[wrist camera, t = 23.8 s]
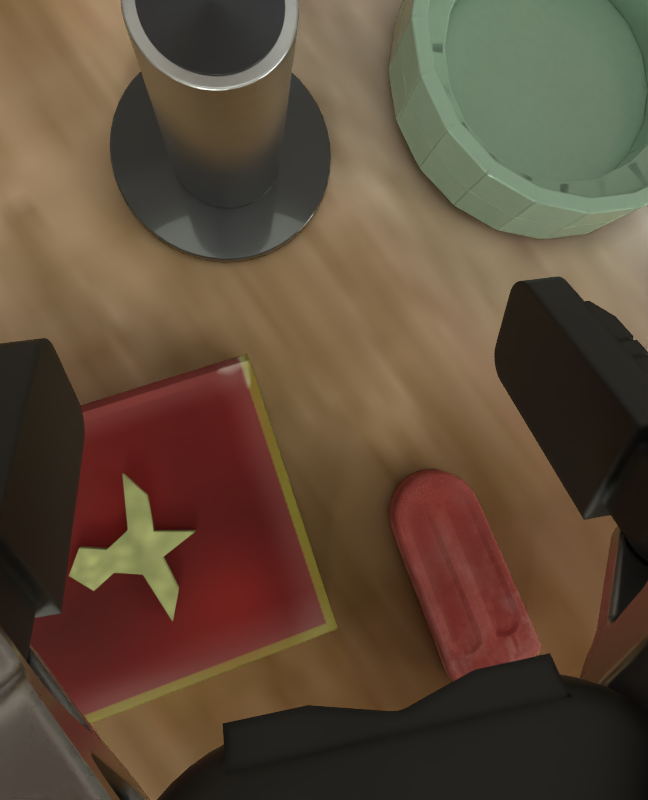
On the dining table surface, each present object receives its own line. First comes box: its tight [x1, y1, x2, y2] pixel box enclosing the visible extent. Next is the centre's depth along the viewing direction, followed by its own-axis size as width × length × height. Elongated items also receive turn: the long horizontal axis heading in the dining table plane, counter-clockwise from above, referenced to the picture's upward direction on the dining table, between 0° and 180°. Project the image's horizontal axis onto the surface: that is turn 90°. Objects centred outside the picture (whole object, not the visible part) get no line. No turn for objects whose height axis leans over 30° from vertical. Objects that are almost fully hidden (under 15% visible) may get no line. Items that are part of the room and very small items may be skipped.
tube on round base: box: [121, 0, 299, 208], centre depth 21 cm, size 11×5×10 cm, turn 8°
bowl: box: [389, 0, 648, 239], centre depth 26 cm, size 15×15×4 cm
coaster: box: [110, 72, 331, 262], centre depth 26 cm, size 10×10×1 cm
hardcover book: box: [30, 354, 338, 724], centre depth 24 cm, size 12×21×4 cm, turn 108°
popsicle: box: [389, 469, 541, 682], centre depth 27 cm, size 4×2×15 cm
